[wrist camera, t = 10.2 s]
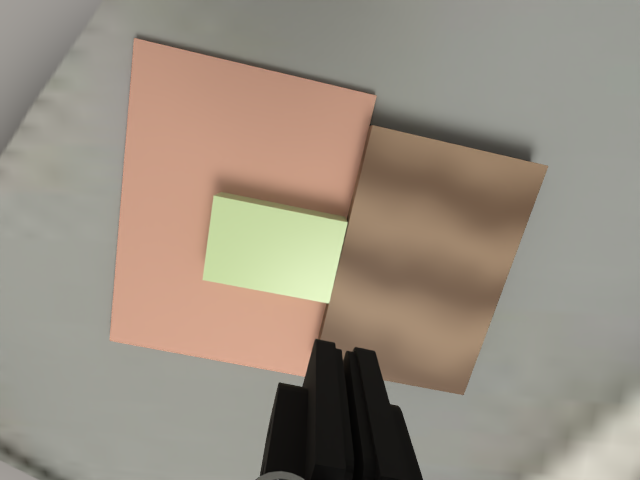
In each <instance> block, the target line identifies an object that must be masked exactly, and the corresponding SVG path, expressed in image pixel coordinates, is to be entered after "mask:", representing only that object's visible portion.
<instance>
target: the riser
mask: <svg viewBox="0 0 640 480" xmlns="http://www.w3.org/2000/svg"><path fill="white" fill-rule="evenodd" d="M547 168H548V166H546V165H542V164H538V163H533V162H529V161H525V160H521V159H516V158H512V157H508V156H503V155H499V154H495V153H490V152H486V151H482V150H478V149H473V148H469V147H465V146H460V145H456V144H452V143H447V142H443V141H439V140H435V139H430V138H426V137H422V136H417V135H413V134H409V133H404V132H400V131H396V130H391V129H387V128H383V127H379V126H374V125H372V126H369V130H368V134H367V138H366V142H365V146H364V150H363V154H362V158H361V163H360V167H359V171H358V175H357V179H356V183H355V187H354V192H353V196H352V200H351V204H350V208H349V212H348V216H347V222H348V223H347V228H346V232H345V236H344V241H343V245H342V250H341V254H340V258H339V263H338V267H337V271H336V276H335V280H334V284H333V289H332V293H331V298H330V302H329V303H326V307H325V312H324V316H323V320H322V324H321V328H320V332H319V336H318V339H320V340H325V341H329V342H334V343H335V345H336V348H337V349H341V350H342V356H343V359H344V356H345V353H346V351H353V349H354V348H355V347H359V348H364V349H368V350H373V351H375V352H376V355H377V359H378V363H379V366H380V370H381V374H382V377H383V380H385V381H391V382H396V383H402V384H407V385H412V386H418V387H423V388H429V389H434V390H439V391H445V392H450V393H455V394H461V395H464V392H465V390H466V387H467V384H468V382H469V379H470V376H471V373H472V371H473V368H474V365H475V363H476V360H477V357H478V355H479V352H480V349H481V346H482V344H483V341H484V338H485V336H486V333H487V330H488V328H489V325H490V322H491V319H492V317H493V314H494V311H495V309H496V306H497V303H498V301H499V298H500V295H501V292H502V290H503V287H504V284H505V282H506V279H507V276H508V274H509V271H510V268H511V265H512V263H513V260H514V257H515V255H516V252H517V249H518V247H519V244H520V241H521V238H522V236H523V233H524V230H525V228H526V225H527V222H528V220H529V217H530V214H531V211H532V209H533V206H534V203H535V201H536V198H537V195H538V193H539V190H540V187H541V184H542V182H543V179H544V176H545V174H546V171H547Z"/></svg>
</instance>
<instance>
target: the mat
mask: <svg viewBox="0 0 640 480" xmlns="http://www.w3.org/2000/svg"><path fill="white" fill-rule="evenodd" d="M375 101H376V95H372V94H368V93H363V92H359V91H355V90H351V89H347V88H342V87H338V86H334V85H330V84H326V83H321V82H317V81H313V80H309V79H305V78H300V77H296V76H292V75H288V74H284V73H279V72H275V71H271V70H267V69H263V68H258V67H254V66H250V65H246V64H242V63H237V62H233V61H229V60H225V59H220V58H216V57H212V56H208V55H204V54H199V53H195V52H191V51H187V50H183V49H178V48H174V47H170V46H166V45H162V44H157V43H153V42H149V41H145V40H141V39H136V38H134V46H133V58H132V70H131V83H130V95H129V107H128V120H127V132H126V144H125V157H124V169H123V181H122V194H121V206H120V218H119V231H118V243H117V255H116V268H115V280H114V292H113V305H112V317H111V329H110V341H114V342H119V343H125V344H130V345H136V346H141V347H146V348H152V349H157V350H163V351H168V352H174V353H179V354H185V355H190V356H195V357H201V358H206V359H212V360H217V361H223V362H228V363H233V364H239V365H244V366H250V367H255V368H261V369H266V370H272V371H277V372H282V373H288V374H293V375H299V376H304V377H305V375H306V371H307V367H308V363H309V359H310V356H311V352H312V348H313V344H314V341H315V339H318V336H319V332H320V328H321V324H322V320H323V316H324V312H325V307H326V303H323V302H318V301H313V300H307V299H302V298H296V297H291V296H286V295H280V294H275V293H269V292H264V291H259V290H253V289H248V288H242V287H237V286H232V285H226V284H221V283H216V282H210V281H205V280H203V272H204V264H205V257H206V249H207V242H208V234H209V226H210V219H211V211H212V204H213V196H214V195H216V194H218V193H220V192H225V193H230V194H235V195H240V196H245V197H250V198H255V199H260V200H265V201H270V202H275V203H279V204H284V205H289V206H294V207H299V208H304V209H309V210H314V211H319V212H324V213H329V214H334V215H339V216H344V217H346V219H347V216H348V212H349V208H350V204H351V200H352V196H353V192H354V187H355V183H356V179H357V175H358V171H359V167H360V163H361V158H362V154H363V150H364V146H365V142H366V138H367V134H368V130H369V125H370V121H371V117H372V113H373V109H374V105H375Z"/></svg>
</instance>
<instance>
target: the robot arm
mask: <svg viewBox="0 0 640 480" xmlns="http://www.w3.org/2000/svg"><path fill="white" fill-rule="evenodd" d="M256 480H423V478H422V475H421V472H420V468H419V465H418V462H417V459H416V456H415V452H414V449H413V446H412V443H411V439H410V436H409V433H408V430H407V427H406V423H405V420H404V417H403V414H402V411H401V409H400V407H399V406H397V405H391V404H390V403H389V399H388V396H387V392H386V388H385V385H384V381H383V377H382V374H381V370H380V366H379V363H378V359H377V355H376V352H375V351H373V350H368V349H364V348H359V347H355V348H354V349H353V351H346V353H345V356H344V359H343V356H342V350H341V349H337V348H336V345H335V343H334V342H329V341H325V340H320V339H315V341H314V344H313V348H312V352H311V356H310V359H309V363H308V367H307V371H306V375H305V379H304V383H303V387H300V386H295V385H290V384H284V383H279V384H278V388H277V392H276V396H275V400H274V405H273V409H272V414H271V418H270V423H269V428H268V433H267V438H266V443H265V449H264V455H263V461H262V466H261V472H260V477H258V478H257V479H256Z"/></svg>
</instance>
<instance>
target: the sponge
mask: <svg viewBox="0 0 640 480" xmlns="http://www.w3.org/2000/svg"><path fill="white" fill-rule="evenodd" d="M347 223H348V222H347V219H346V217H344V216H339V215H334V214H329V213H324V212H319V211H314V210H309V209H304V208H299V207H294V206H289V205H284V204H279V203H275V202H270V201H265V200H260V199H255V198H250V197H245V196H240V195H235V194H230V193H225V192H220V193H218V194H216V195H214V196H213V204H212V211H211V219H210V226H209V234H208V242H207V249H206V257H205V264H204V272H203V280H205V281H210V282H216V283H221V284H226V285H232V286H237V287H242V288H248V289H253V290H259V291H264V292H269V293H275V294H280V295H286V296H291V297H296V298H302V299H307V300H313V301H318V302H323V303H329V302H330V298H331V293H332V289H333V284H334V280H335V276H336V271H337V267H338V263H339V258H340V254H341V250H342V245H343V241H344V236H345V232H346V228H347Z"/></svg>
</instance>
